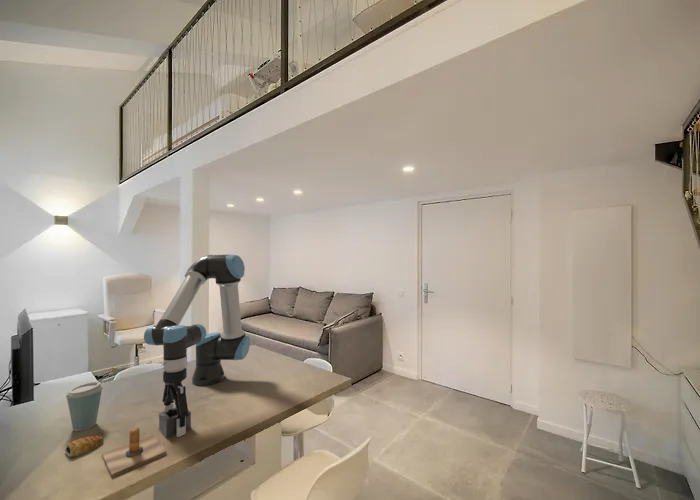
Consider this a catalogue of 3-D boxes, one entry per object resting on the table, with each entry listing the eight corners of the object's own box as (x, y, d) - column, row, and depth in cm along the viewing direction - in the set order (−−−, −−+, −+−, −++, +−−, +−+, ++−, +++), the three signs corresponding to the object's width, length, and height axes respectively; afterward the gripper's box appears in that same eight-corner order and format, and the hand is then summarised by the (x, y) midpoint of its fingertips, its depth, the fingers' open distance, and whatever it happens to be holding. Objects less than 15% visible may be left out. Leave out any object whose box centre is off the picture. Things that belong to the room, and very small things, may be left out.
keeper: (102, 457, 97) (102, 431, 97) (153, 437, 107) (153, 414, 108) (111, 477, 88) (111, 449, 88) (166, 454, 98) (166, 428, 98)
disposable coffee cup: (71, 437, 108) (71, 394, 108) (60, 429, 114) (60, 388, 114) (107, 423, 117) (107, 383, 117) (95, 416, 123) (96, 378, 123)
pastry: (98, 439, 108) (98, 428, 108) (106, 445, 104) (107, 433, 104) (63, 453, 100) (63, 441, 100) (70, 460, 96) (71, 448, 96)
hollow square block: (159, 429, 112) (159, 413, 113) (182, 421, 118) (182, 405, 118) (166, 438, 107) (166, 420, 107) (190, 428, 113) (190, 411, 113)
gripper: (153, 364, 119) (152, 421, 118) (175, 380, 102) (175, 446, 102) (174, 359, 124) (174, 413, 124) (199, 374, 108) (198, 436, 107)
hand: (174, 428), depth 113 cm, fingers open, 12 cm apart
